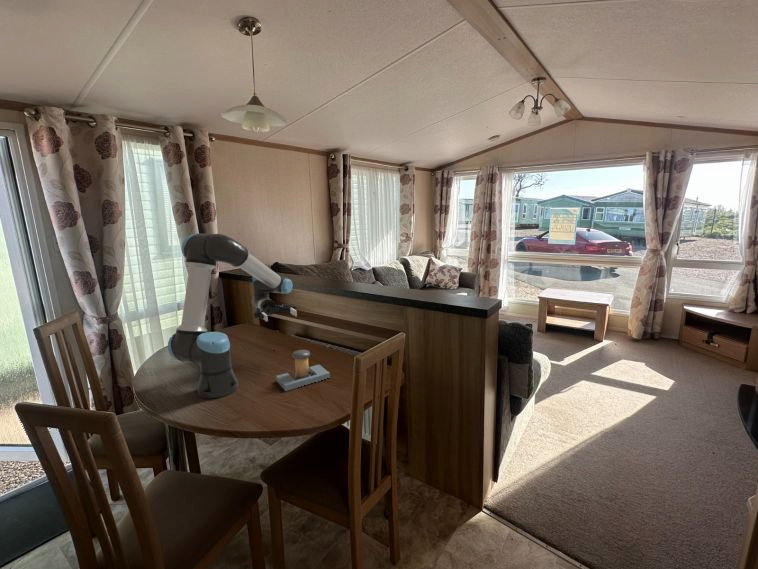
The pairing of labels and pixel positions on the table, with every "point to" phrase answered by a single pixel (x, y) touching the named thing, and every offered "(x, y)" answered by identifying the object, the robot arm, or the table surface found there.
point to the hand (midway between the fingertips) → (281, 315)
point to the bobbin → (301, 364)
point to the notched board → (290, 383)
